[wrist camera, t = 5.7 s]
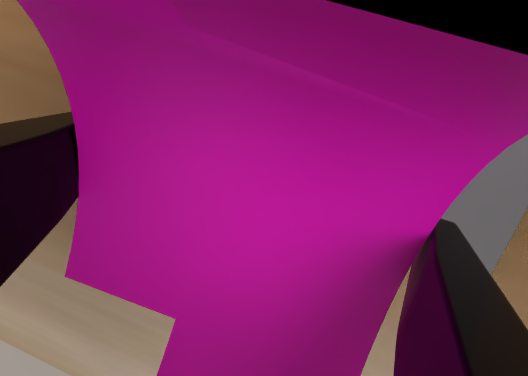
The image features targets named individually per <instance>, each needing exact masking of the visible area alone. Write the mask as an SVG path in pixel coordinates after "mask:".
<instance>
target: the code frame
mask: <svg viewBox="0 0 528 376" xmlns="http://www.w3.org/2000/svg"><path fill="white" fill-rule="evenodd" d="M527 208H528V134H527V135H526V136H524V137H523V138H521V139H520V140H518V141H517V142H515V143H514V144H512V145H511V146H509V147H508V148H507V149H505V150H504V151H503V152H502V153H501V154H499V155H498V156H497V157H496V158H495V159H493V160H492V161H491V162H490V163H489V164H487V165H486V166H485V167H484V168H483V169H482V170H481V171H480V172H479V174H478V175H477V176H476V177H475V178H474V179H473V180H472V181H471V182H470V183H469V184H468V185H467V186H466V187H465V188H464V190H463V191H462V192H461V193H460V194H459V195H458V197H457V198H456V199H455V200H454V201H453V202H452V204H451V205H450V206H449V208H448V209H447V211H446V212H445V213H444V215H443V216H442V217H441V219H445V220H448V221H451V222H454V223H456V224H457V226H458V227H459V229H460V230H461V232H462V233H463V235H464V236H465V237H466V239H467V240H468V242H469V243H470V245H471V246H472V248H473V249H474V251H475V252H476V254H477V255H478V257H479V258H480V260H481V261H482V263H483V264H484V266H485V267H486V269H487V270H488V272H489V273H490V275H491V274H492V272H493V270H494V268H495V267H496V265H497V263H498V261H499V259H500V257H501V256H502V254H503V252H504V250H505V248H506V247H507V245H508V243H509V241H510V239H511V237H512V236H513V234H514V232H515V230H516V228H517V226H518V225H519V223H520V221H521V219H522V217H523V216H524V214H525V212H526V210H527Z"/></svg>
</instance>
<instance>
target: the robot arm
mask: <svg viewBox="0 0 528 376" xmlns="http://www.w3.org/2000/svg"><path fill="white" fill-rule="evenodd" d="M78 196H79V164H78V147H77V139H76V132H75V124H74V120H73V116H72V112H67V113H61V114H55V115H50V116H44V117H38V118H32V119H26V120H20V121H14V122H8V123H3V124H0V287H1V286H2V285H3V283H4V282H5V281H6V280H7V279H8V278H9V277H10V276H11V275H12V273H13V272H14V271H15V270H16V269H17V268H18V267H19V266H20V265H21V263H22V262H23V261H24V260H25V259H26V258H27V257H28V256H29V255H30V253H31V252H32V251H33V250H34V249H35V248H36V247H37V246H38V245H39V244H40V242H41V241H42V240H43V239H44V238H45V237H46V236H47V235H48V234H49V232H50V231H51V230H52V229H53V228H54V227H55V226H56V225H57V223H58V222H59V221H60V220H61V219H62V218H63V216H64V215H65V214H66V212H67V211H68V210H69V209H70V207H71V206H72V204H73V203H74V202H75V200H76V199H77V198H78ZM394 376H528V330H527V328H526V327H525V325H524V324H523V322H522V321H521V319H520V318H519V316H518V315H517V313H516V312H515V310H514V309H513V307H512V306H511V304H510V303H509V301H508V300H507V298H506V297H505V295H504V294H503V292H502V291H501V289H500V288H499V286H498V285H497V283H496V282H495V281H494V279H493V278H492V276H491V275H490V273H489V272H488V270H487V269H486V267H485V266H484V264H483V263H482V261H481V260H480V258H479V257H478V255H477V254H476V252H475V251H474V249H473V248H472V246H471V245H470V243H469V242H468V240H467V239H466V237H465V236H464V235H463V233H462V232H461V230H460V229H459V227H458V226H457V224H456V223H454V222H451V221H448V220H445V219H440V220H439V221H438V223H437V224H436V226H435V227H434V229H433V230H432V232H431V233H430V235H429V236H428V238H427V239H426V241H425V242H424V244H423V246H422V247H421V249H420V251H419V252H418V254H417V256H416V257H415V259H414V261H413V263H412V265H411V270H410V275H409V279H408V284H407V289H406V293H405V298H404V302H403V307H402V312H401V316H400V321H399V327H398V332H397V340H396V350H395V363H394Z"/></svg>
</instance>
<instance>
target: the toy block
mask: <svg viewBox="0 0 528 376" xmlns="http://www.w3.org/2000/svg"><path fill="white" fill-rule="evenodd" d="M17 1H18V2H19V3H20V5H21V6H22V7H23V9H24V10H25V11H26V13H27V14H28V15H29V17H30V18H31V19H32V21H33V22H34V24H35V26H36V27H37V29H38V31H39V32H40V34H41V36H42V38H43V39H44V41H45V43H46V44H47V46H48V48H49V50H50V52H51V54H52V56H53V59H54V61H55V63H56V65H57V68H58V70H59V72H60V74H61V77H62V80H63V83H64V86H65V89H66V92H67V95H68V98H69V102H70V107H71V111H72V116H73V120H74V124H75V132H76V139H77V147H78V164H79V196H78V205H77V215H76V224H75V230H74V236H73V241H72V247H71V252H70V256H69V260H68V265H67V269H66V273H65V277H68V278H70V279H73V280H75V281H78V282H81V283H83V284H86V285H88V286H91V287H94V288H96V289H99V290H102V291H104V292H107V293H109V294H112V295H115V296H117V297H120V298H122V299H125V300H128V301H130V302H133V303H136V304H138V305H141V306H143V307H146V308H149V309H151V310H154V311H156V312H159V313H162V314H164V315H167V316H170V317H172V318H175V319H176V320H175V323H174V326H173V329H172V332H171V335H170V338H169V341H168V344H167V347H166V350H165V353H164V356H163V359H162V362H161V365H160V368H159V370H158V373H157V376H360V375H361V373H362V370H363V368H364V365H365V362H366V360H367V357H368V355H369V352H370V350H371V348H372V345H373V343H374V340H375V338H376V336H377V333H378V331H379V329H380V327H381V324H382V322H383V320H384V318H385V316H386V313H387V311H388V309H389V307H390V305H391V303H392V301H393V299H394V297H395V295H396V293H397V291H398V289H399V287H400V285H401V283H402V281H403V279H404V277H405V275H406V274H407V272H408V270H409V268H410V266H411V264H412V263H413V261H414V259H415V257H416V256H417V254H418V252H419V251H420V249H421V247H422V246H423V244H424V242H425V241H426V239H427V238H428V236H429V235H430V233H431V232H432V230H433V229H434V227H435V226H436V224H437V223H438V221H439V220H440V219H441V217H442V216H443V215H444V213H445V212H446V211H447V209H448V208H449V206H450V205H451V204H452V202H453V201H454V200H455V199H456V198H457V197H458V195H459V194H460V193H461V192H462V191H463V190H464V188H465V187H466V186H467V185H468V184H469V183H470V182H471V181H472V180H473V179H474V178H475V177H476V176H477V175H478V174H479V172H480V171H481V170H482V169H483V168H484V167H485V166H486V165H487V164H489V163H490V162H491V161H492V160H493V159H495V158H496V157H497V156H498V155H499V154H501V153H502V152H503V151H504V150H505V149H507V148H508V147H509V146H511V145H512V144H514V143H515V142H517V141H518V140H520V139H521V138H523V137H524V136H526V135H527V134H528V0H17Z"/></svg>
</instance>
